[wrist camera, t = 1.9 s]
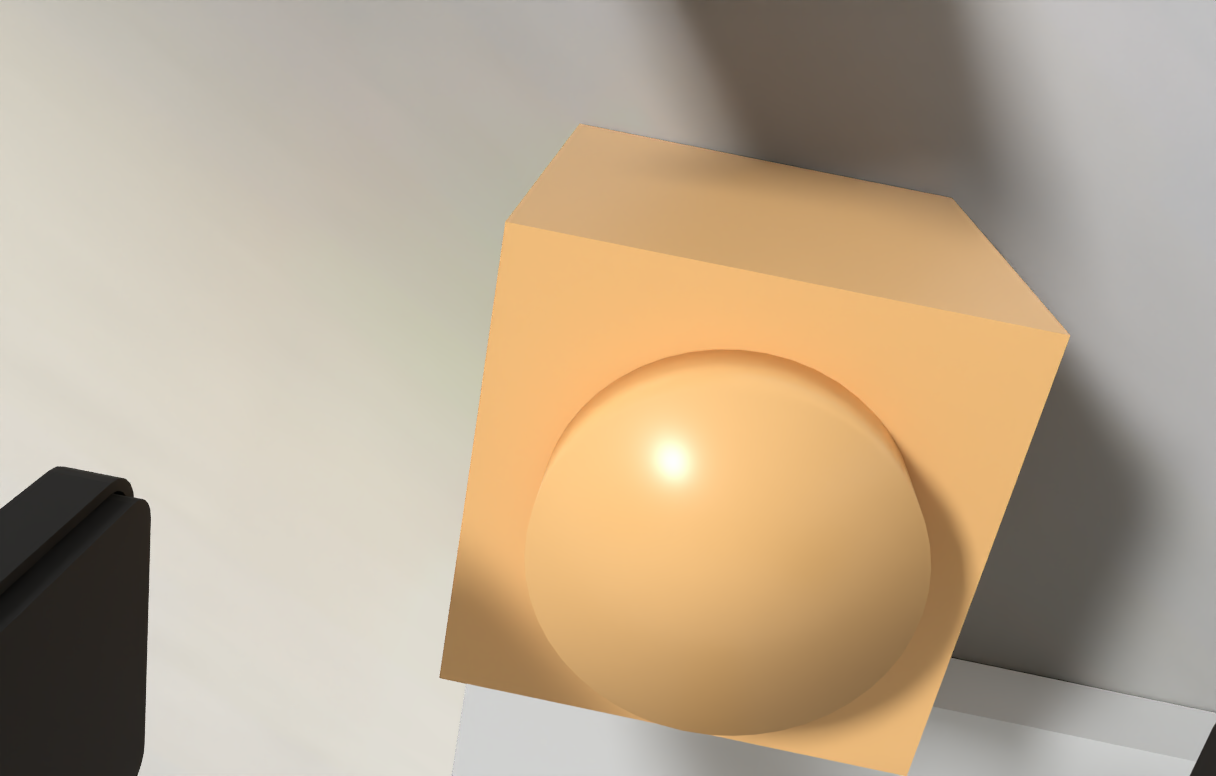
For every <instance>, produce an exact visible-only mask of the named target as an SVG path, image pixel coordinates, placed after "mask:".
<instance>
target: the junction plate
mask: <svg viewBox="0 0 1216 776" xmlns="http://www.w3.org/2000/svg"><path fill="white" fill-rule="evenodd" d="M1215 723H1216V713H1214V712H1209V711H1204V710H1200V709H1195V708H1190V707H1185V706H1180V705H1176V704H1171V703H1166V702H1161V701H1156V700H1152V699H1147V698H1142V697H1137V696H1132V695H1128V694H1123V693H1118V692H1113V691H1108V690H1104V689H1099V688H1094V687H1089V686H1084V685H1080V684H1075V683H1070V682H1065V681H1060V680H1056V679H1051V678H1046V677H1041V676H1036V675H1031V674H1027V673H1022V672H1017V671H1012V670H1007V669H1003V668H998V667H993V666H988V665H983V664H979V663H974V662H969V661H964V660H959V659H955V658H950V661H949V664H948V666H947V669H946V672H945V674H944V677H943V680H942V683H941V685H940V688H939V691H938V693H937V696H936V699H935V701H934V704H933V707H932V710H931V712H930V715H929V718H928V720H927V723H926V726H925V728H924V731H923V734H922V736H921V739H920V742H919V745H918V747H917V750H916V753H915V755H914V758H913V761H912V763H911V766H910V769H909V772H908V774H907V776H1190V774H1191V772H1192V770H1193V768H1194V766H1195V764H1196V761H1197V759H1198V757H1199V755H1200V753H1201V751H1202V749H1203V747H1204V745H1205V743H1206V741H1207V738H1208V736H1209V734H1210V732H1211V730H1212V728H1213V726H1214V725H1215ZM452 776H903V775H898V774H893V773H888V772H884V771H879V770H874V769H869V768H865V767H860V766H855V765H850V764H846V763H841V762H836V761H831V760H827V759H822V758H817V757H812V756H808V755H803V754H798V753H793V752H789V751H784V750H779V749H774V748H770V747H765V746H760V745H755V744H751V743H746V742H741V741H736V740H732V739H727V738H722V737H717V736H713V735H706V734H700V733H694V732H687V731H682V730H678V729H674V728H670V727H667V726H663V725H659V724H656V723H651V722H646V721H641V720H637V719H632V718H627V717H622V716H618V715H613V714H608V713H603V712H599V711H594V710H589V709H584V708H580V707H575V706H570V705H565V704H561V703H556V702H551V701H546V700H542V699H537V698H532V697H527V696H523V695H518V694H513V693H508V692H504V691H499V690H494V689H489V688H485V687H480V686H475V685H470V684H466V688H465V694H464V700H463V707H462V713H461V719H460V726H459V732H458V739H457V745H456V751H455V758H454V764H453V770H452Z"/></svg>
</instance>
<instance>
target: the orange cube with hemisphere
mask: <svg viewBox="0 0 1216 776" xmlns="http://www.w3.org/2000/svg"><path fill="white" fill-rule="evenodd" d="M1069 338H1070V335H1069V333H1068V332H1067V331H1066V330H1065V329H1064V328H1063V326H1062V325H1061V324H1060V323H1059V322H1058V321H1057V319H1056V318H1055V317H1054V316H1053V315H1052V314H1051V313H1050V311H1049V310H1048V309H1047V308H1046V307H1045V306H1044V304H1043V303H1042V302H1041V301H1040V300H1039V299H1038V297H1037V296H1036V295H1035V294H1034V293H1033V292H1032V290H1031V289H1030V288H1029V287H1028V286H1027V285H1026V283H1025V282H1024V281H1023V280H1022V279H1021V278H1020V276H1019V275H1018V274H1017V273H1016V272H1015V271H1014V269H1013V268H1012V267H1011V266H1010V265H1009V264H1008V262H1007V261H1006V260H1005V259H1004V258H1003V257H1002V255H1001V254H1000V253H999V252H998V251H997V250H996V249H995V247H994V246H993V245H992V244H991V243H990V242H989V240H988V239H987V238H986V237H985V236H984V235H983V233H982V232H981V231H980V230H979V229H978V228H977V226H976V225H975V224H974V223H973V222H972V221H971V219H970V218H969V217H968V216H967V215H966V214H965V212H964V211H963V210H962V209H961V208H960V207H959V205H958V204H957V203H956V202H955V201H954V200H953V198H950V197H945V196H940V195H935V194H930V193H925V192H920V191H915V190H910V189H905V188H900V187H895V186H890V185H885V184H880V183H875V182H870V181H865V180H859V179H854V178H849V177H844V176H839V175H834V174H829V173H824V172H819V171H814V170H809V169H804V168H799V167H794V166H789V165H784V164H779V163H774V162H769V161H764V160H759V159H754V158H749V157H744V156H739V155H734V154H729V153H724V152H719V151H714V150H709V149H704V148H699V147H694V146H689V145H684V144H679V143H674V142H669V141H664V140H659V139H654V138H649V137H644V136H639V135H634V134H629V133H624V132H619V131H614V130H609V129H604V128H599V127H594V126H589V125H584V124H579V125H578V127H577V128H576V129H575V131H574V132H573V133H572V135H571V136H570V137H569V139H568V140H567V141H566V142H565V144H564V145H563V146H562V148H561V149H560V150H559V152H558V153H557V154H556V156H555V157H554V158H553V160H552V161H551V162H550V164H549V165H548V166H547V168H546V169H545V170H544V172H543V173H542V174H541V176H540V177H539V178H538V179H537V181H536V182H535V183H534V185H533V186H532V187H531V189H530V190H529V191H528V193H527V194H526V195H525V197H524V198H523V199H522V201H521V202H520V203H519V205H518V206H517V207H516V209H515V210H514V211H513V213H512V214H511V215H510V216H509V218H508V219H507V220H506V222H505V229H504V236H503V243H502V250H501V256H500V263H499V270H498V277H497V284H496V291H495V298H494V305H493V312H492V319H491V325H490V332H489V339H488V346H487V353H486V360H485V367H484V374H483V381H482V388H481V395H480V401H479V408H478V415H477V422H476V429H475V436H474V443H473V450H472V457H471V464H470V470H469V477H468V484H467V491H466V498H465V505H464V512H463V519H462V526H461V533H460V540H459V546H458V553H457V560H456V567H455V574H454V581H453V588H452V595H451V602H450V609H449V615H448V622H447V629H446V636H445V643H444V650H443V657H442V664H441V671H440V678H442V679H447V680H451V681H456V682H461V683H466V684H470V685H475V686H480V687H485V688H489V689H494V690H499V691H504V692H508V693H513V694H518V695H523V696H527V697H532V698H537V699H542V700H546V701H551V702H556V703H561V704H565V705H570V706H575V707H580V708H584V709H589V710H594V711H599V712H603V713H608V714H613V715H618V716H622V717H627V718H632V719H637V720H641V721H646V722H651V723H656V724H659V725H663V726H667V727H670V728H674V729H678V730H682V731H687V732H694V733H700V734H706V735H713V736H717V737H722V738H727V739H732V740H736V741H741V742H746V743H751V744H755V745H760V746H765V747H770V748H774V749H779V750H784V751H789V752H793V753H798V754H803V755H808V756H812V757H817V758H822V759H827V760H831V761H836V762H841V763H846V764H850V765H855V766H860V767H865V768H869V769H874V770H879V771H884V772H888V773H893V774H898V775H903V776H907V774H908V772H909V769H910V766H911V763H912V761H913V758H914V755H915V753H916V750H917V747H918V745H919V742H920V739H921V736H922V734H923V731H924V728H925V726H926V723H927V720H928V718H929V715H930V712H931V710H932V707H933V704H934V701H935V699H936V696H937V693H938V691H939V688H940V685H941V683H942V680H943V677H944V674H945V672H946V669H947V666H948V664H949V661H950V658H951V656H952V653H953V650H954V648H955V645H956V642H957V639H958V637H959V634H960V631H961V629H962V626H963V623H964V621H965V618H966V615H967V613H968V610H969V607H970V604H971V602H972V599H973V596H974V594H975V591H976V588H977V586H978V583H979V580H980V577H981V575H982V572H983V569H984V567H985V564H986V561H987V559H988V556H989V553H990V551H991V548H992V545H993V542H994V540H995V537H996V534H997V532H998V529H999V526H1000V524H1001V521H1002V518H1003V515H1004V513H1005V510H1006V507H1007V505H1008V502H1009V499H1010V497H1011V494H1012V491H1013V489H1014V486H1015V483H1016V480H1017V478H1018V475H1019V472H1020V470H1021V467H1022V464H1023V462H1024V459H1025V456H1026V454H1027V451H1028V448H1029V445H1030V443H1031V440H1032V437H1033V435H1034V432H1035V429H1036V427H1037V424H1038V421H1039V418H1040V416H1041V413H1042V410H1043V408H1044V405H1045V402H1046V400H1047V397H1048V394H1049V392H1050V389H1051V386H1052V383H1053V381H1054V378H1055V375H1056V373H1057V370H1058V367H1059V365H1060V362H1061V359H1062V357H1063V354H1064V351H1065V348H1066V346H1067V343H1068V340H1069Z"/></svg>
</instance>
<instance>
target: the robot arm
mask: <svg viewBox="0 0 1216 776" xmlns="http://www.w3.org/2000/svg"><path fill="white" fill-rule="evenodd" d="M150 528H151V515H150V508H149V505H148V503H147V502H146V501H145V500H143V499H138V498H134V494H133V490H132V487H131V484H130V483H129V482H128V481H127V480H126V479H124V478H119V477H114V476H109V475H104V474H99V473H94V472H89V471H84V470H78V469H73V468H68V467H58V466H57V467H55V468H53V469H51V470H49V471H48V472H47V473H45V474H44V475H43V476H42V477H40V478H39V479H38V480H37V481H35V482H34V483H33V484H31V485H30V486H29V487H28V488H26V489H25V490H24V491H23V492H21V493H20V494H19V495H18V496H16V497H15V498H14V499H12V500H11V501H10V502H9V503H7V504H6V505H5V506H4V507H2V508H1V509H0V776H137V775H138V772H139V769H140V766H141V763H142V758H143V754H144V743H145V707H146V671H147V635H148V599H149V564H150ZM1190 776H1216V723H1215V725H1214V726H1213V728H1212V730H1211V732H1210V734H1209V736H1208V738H1207V741H1206V743H1205V745H1204V747H1203V749H1202V751H1201V753H1200V755H1199V757H1198V759H1197V761H1196V764H1195V766H1194V768H1193V770H1192V772H1191V774H1190Z"/></svg>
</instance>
